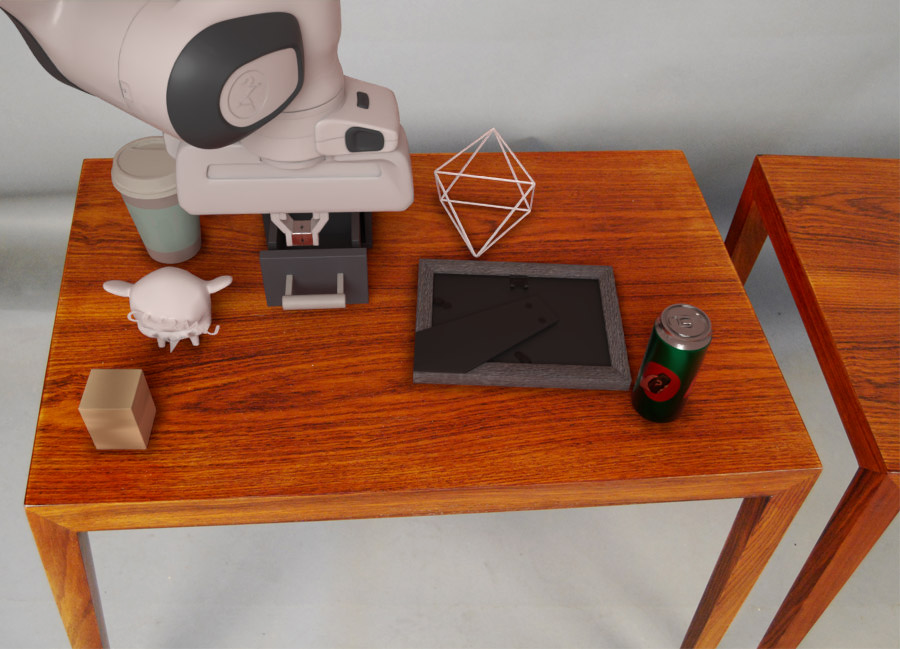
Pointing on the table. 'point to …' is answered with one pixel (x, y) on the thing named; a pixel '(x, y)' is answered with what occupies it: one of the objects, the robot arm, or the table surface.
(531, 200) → the geometric polyhedron
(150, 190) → the coffee cup
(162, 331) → the figurine
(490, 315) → the picture frame
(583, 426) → the table surface
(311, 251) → the open drawer with handle
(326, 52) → the robot arm
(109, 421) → the block
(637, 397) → the soda can
